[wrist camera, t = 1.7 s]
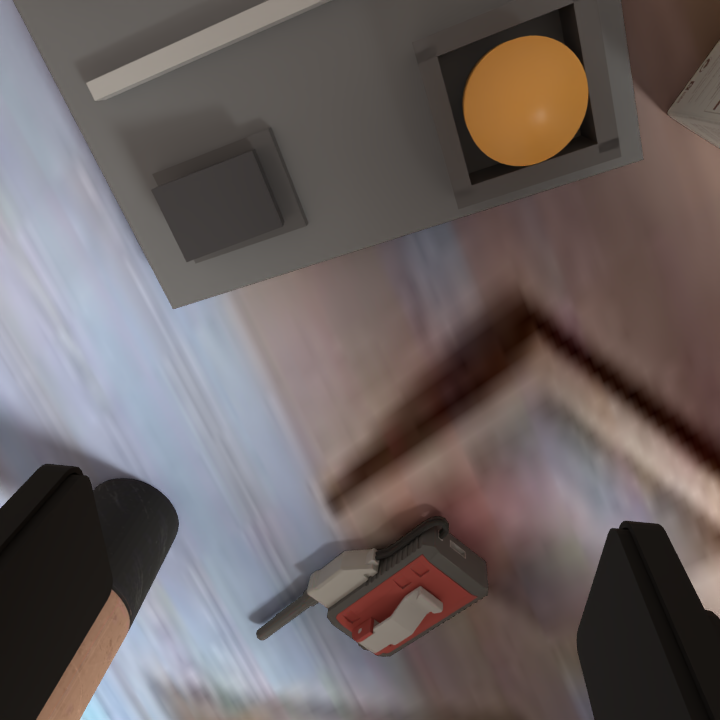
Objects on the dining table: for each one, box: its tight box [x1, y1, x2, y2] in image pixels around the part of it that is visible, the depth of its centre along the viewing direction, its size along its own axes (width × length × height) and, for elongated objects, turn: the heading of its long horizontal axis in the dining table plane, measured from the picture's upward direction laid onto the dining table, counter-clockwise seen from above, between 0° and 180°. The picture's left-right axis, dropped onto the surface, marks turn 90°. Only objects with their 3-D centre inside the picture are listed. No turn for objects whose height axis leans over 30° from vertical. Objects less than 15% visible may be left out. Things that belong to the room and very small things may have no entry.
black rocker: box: [151, 149, 285, 262], centre depth 27 cm, size 5×4×1 cm
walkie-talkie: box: [256, 516, 488, 657], centre depth 44 cm, size 9×4×20 cm
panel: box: [13, 0, 644, 309], centre depth 26 cm, size 25×18×6 cm
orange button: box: [462, 36, 588, 166], centre depth 23 cm, size 4×4×3 cm
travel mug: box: [36, 478, 179, 720], centre depth 36 cm, size 8×8×20 cm
